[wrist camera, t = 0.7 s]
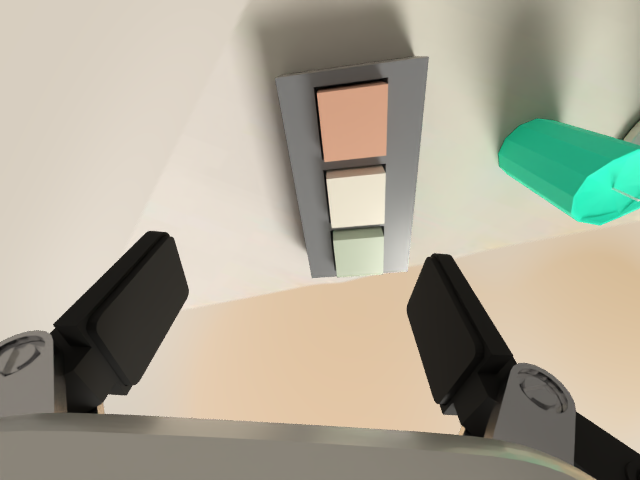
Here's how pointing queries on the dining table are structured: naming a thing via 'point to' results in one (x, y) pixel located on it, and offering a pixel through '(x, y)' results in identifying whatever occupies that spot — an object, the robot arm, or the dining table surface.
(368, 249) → the key sage
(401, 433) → the robot arm
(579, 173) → the candle
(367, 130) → the key terracotta
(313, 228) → the keypad
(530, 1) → the dining table surface
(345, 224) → the key cream
